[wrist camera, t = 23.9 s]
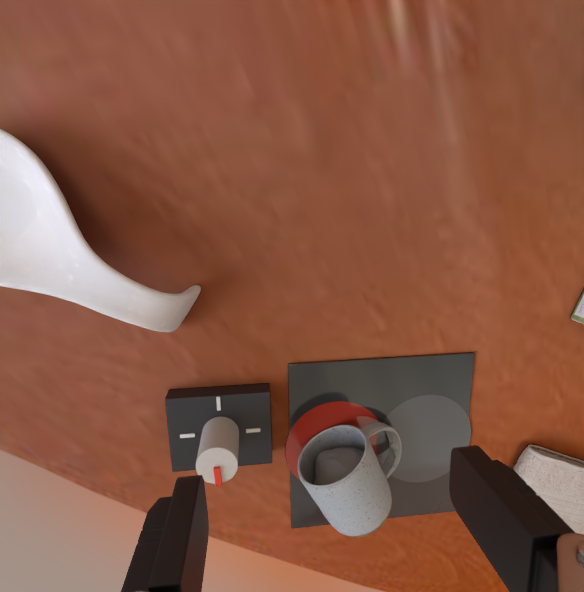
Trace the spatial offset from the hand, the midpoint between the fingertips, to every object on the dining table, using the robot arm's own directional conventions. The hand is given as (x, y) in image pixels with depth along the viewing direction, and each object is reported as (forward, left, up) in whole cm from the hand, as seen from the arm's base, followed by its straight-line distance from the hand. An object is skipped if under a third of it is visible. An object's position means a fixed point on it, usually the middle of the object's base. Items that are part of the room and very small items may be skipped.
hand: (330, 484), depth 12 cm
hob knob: (+6, +13, -24) cm, 28 cm away
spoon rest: (+18, -6, -27) cm, 32 cm away
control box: (+6, +13, -26) cm, 30 cm away
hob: (-11, +17, -26) cm, 34 cm away
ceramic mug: (-8, +18, -26) cm, 33 cm away
